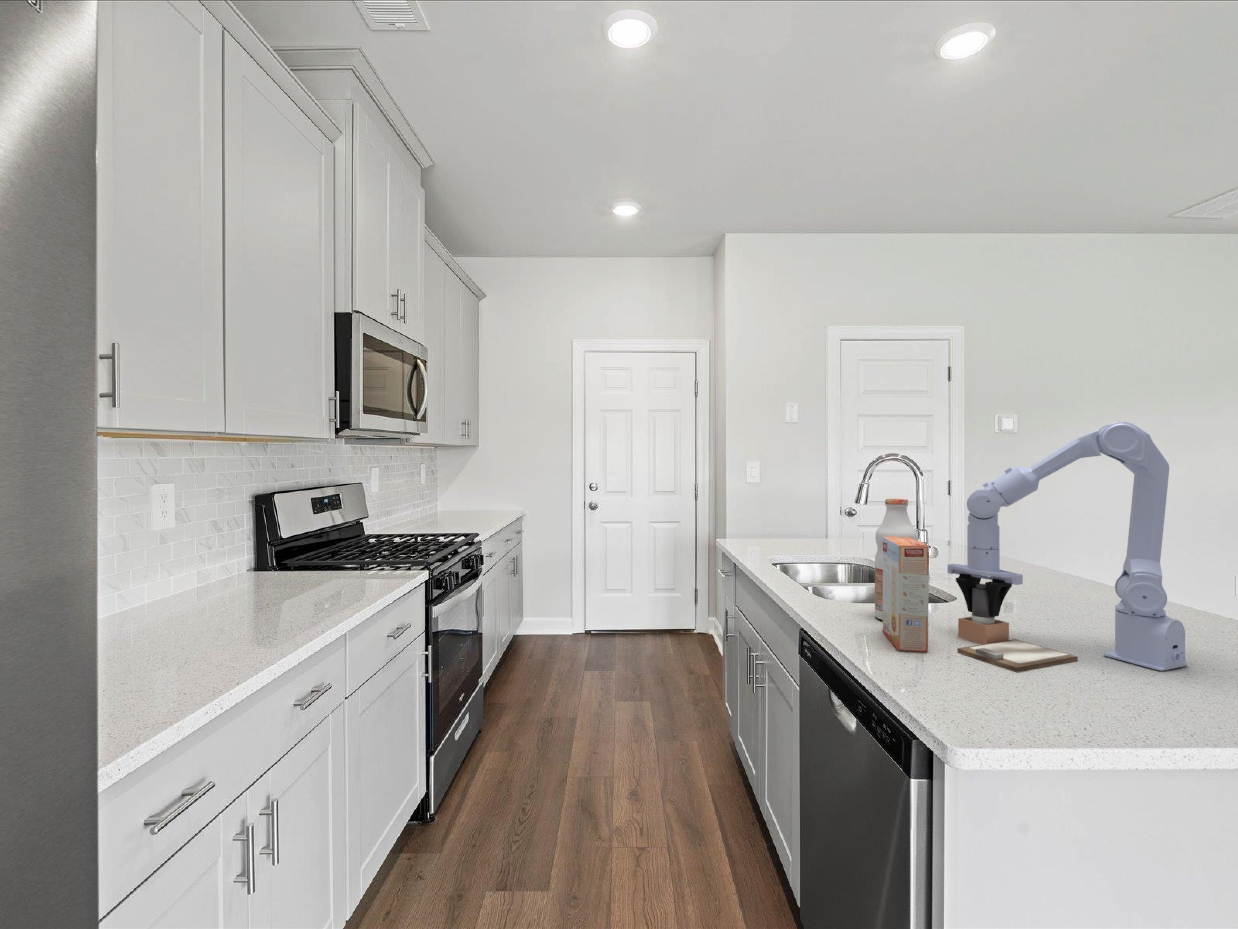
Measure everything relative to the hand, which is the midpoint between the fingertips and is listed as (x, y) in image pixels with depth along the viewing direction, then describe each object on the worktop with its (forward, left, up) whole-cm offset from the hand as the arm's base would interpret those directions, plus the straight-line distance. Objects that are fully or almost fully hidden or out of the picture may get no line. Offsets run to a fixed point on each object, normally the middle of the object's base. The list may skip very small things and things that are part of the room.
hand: (983, 613), depth 128 cm
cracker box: (+5, +16, -6) cm, 18 cm away
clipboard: (-10, +4, -5) cm, 12 cm away
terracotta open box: (0, 0, -5) cm, 5 cm away
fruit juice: (+19, +4, -6) cm, 20 cm away
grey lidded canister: (0, 0, -3) cm, 3 cm away
